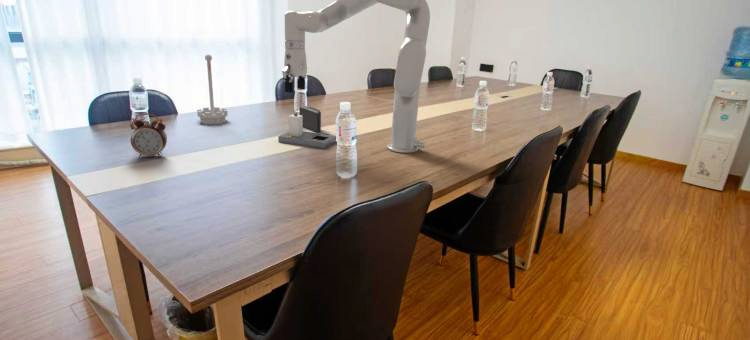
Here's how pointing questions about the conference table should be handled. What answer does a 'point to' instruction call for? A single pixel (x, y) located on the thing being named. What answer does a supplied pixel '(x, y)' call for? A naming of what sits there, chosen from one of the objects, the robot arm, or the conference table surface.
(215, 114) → the flag stand
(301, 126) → the plug
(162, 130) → the alarm clock
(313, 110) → the leaning round-cornered charcoal block
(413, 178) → the conference table surface
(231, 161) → the conference table surface
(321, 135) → the panel
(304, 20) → the robot arm
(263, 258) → the conference table surface
